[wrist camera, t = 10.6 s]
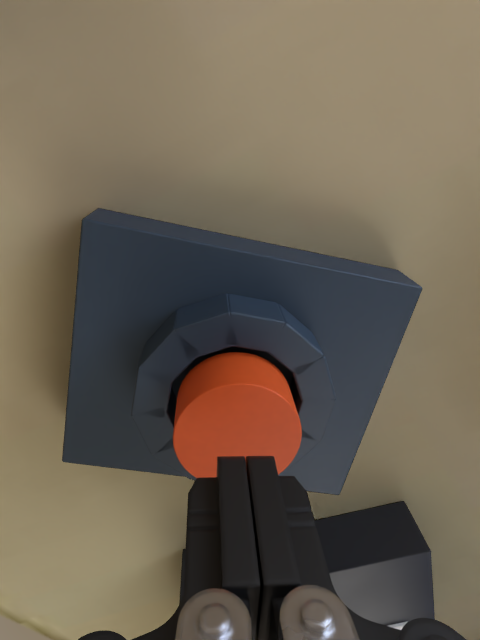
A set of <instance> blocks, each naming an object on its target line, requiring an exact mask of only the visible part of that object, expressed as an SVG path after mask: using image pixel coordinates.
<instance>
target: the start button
mask: <svg viewBox="0 0 480 640" xmlns="http://www.w3.org/2000/svg"><path fill="white" fill-rule="evenodd" d="M301 437H302V427H301V422H300V419H299V415H298V412H297V409H296V406H295V403H294V400H293V397H292V394H291V391H290V388H289V385H288V382H287V380H286V378H285V377H284V375H283V374H282V372H281V371H280V370H279V369H278V368H277V367H276V366H275V365H274V364H272V363H271V362H270V361H268V360H266V359H264V358H262V357H260V356H257V355H254V354H250V353H244V352H228V353H222V354H218V355H215V356H212V357H209V358H207V359H205V360H204V361H202V362H200V363H199V364H197V365H196V366H195V367H194V368H193V369H192V370H190V372H189V373H188V374H187V375H186V376H185V378H184V380H183V381H182V383H181V385H180V388H179V391H178V395H177V404H176V413H175V422H174V430H173V446H174V450H175V453H176V455H177V458H178V459H179V461H180V463H181V464H182V466H183V467H184V468H185V469H186V470H187V471H188V472H189V473H190V474H191V475H193V476H194V477H195V478H202V477H216V476H217V457H218V456H244V457H245V460H246V456H274V458H275V462H276V467H277V472H278V474H280V473H281V472H282V471H284V470H285V469H286V468H287V467H288V466H289V464H290V463H291V462H292V461H293V459H294V457H295V456H296V454H297V452H298V449H299V447H300V443H301Z"/></svg>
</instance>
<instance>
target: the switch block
mask: <svg viewBox="0 0 480 640" xmlns="http://www.w3.org/2000/svg"><path fill="white" fill-rule="evenodd" d="M421 291H422V287H421V286H420V285H418V284H417V283H415V282H414V281H413V280H411V279H410V278H408V277H407V276H406V275H404V274H403V273H401V272H400V271H399V270H395V269H390V268H386V267H381V266H376V265H371V264H366V263H361V262H357V261H352V260H347V259H342V258H337V257H332V256H328V255H323V254H318V253H313V252H308V251H303V250H298V249H294V248H289V247H284V246H279V245H274V244H269V243H265V242H260V241H255V240H250V239H245V238H240V237H236V236H231V235H226V234H221V233H216V232H211V231H207V230H202V229H197V228H192V227H187V226H182V225H177V224H173V223H168V222H163V221H158V220H153V219H148V218H144V217H139V216H134V215H129V214H124V213H119V212H115V211H110V210H105V209H100V208H98V209H96V210H95V211H93V212H92V213H90V214H89V215H88V216H86V217H85V218H83V219H82V225H81V237H80V249H79V262H78V274H77V286H76V298H75V310H74V322H73V335H72V347H71V359H70V371H69V383H68V396H67V408H66V420H65V432H64V444H63V456H62V461H63V462H68V463H76V464H85V465H93V466H101V467H110V468H118V469H126V470H135V471H143V472H151V473H160V474H168V475H176V476H185V477H187V478H189V479H192V480H196V479H197V478H195V477H194V476H193V475H191V474H190V473H189V472H188V471H187V470H186V469H185V468H184V467H183V466H182V464H181V463H180V461H179V459H178V458H177V455H176V453H175V450H174V446H173V430H174V422H175V413H176V404H177V395H178V391H179V388H180V385H181V383H182V381H183V380H184V378H185V376H186V375H187V374H188V373H189V372H190V370H192V369H193V368H194V367H195V366H196V365H197V364H199V363H200V362H202V361H204V360H205V359H207V358H209V357H212V356H215V355H218V354H222V353H228V352H244V353H250V354H254V355H257V356H260V357H262V358H264V359H266V360H268V361H270V362H271V363H272V364H274V365H275V366H276V367H277V368H278V369H279V370H280V371H281V372H282V374H283V375H284V377H285V378H286V380H287V382H288V385H289V388H290V391H291V394H292V397H293V400H294V403H295V406H296V409H297V412H298V415H299V419H300V422H301V427H302V437H301V443H300V447H299V449H298V452H297V454H296V456H295V457H294V459H293V461H292V462H291V463H290V464H289V466H288V467H287V468H286V469H285V470H284V471H282V472H281V473H280V474H278V476H295V478H296V479H297V480H298V481H299V482H300V484H301V485H302V486H303V487H304V489H305V490H306V491H310V492H318V493H326V494H335V495H339V494H340V492H341V490H342V487H343V485H344V482H345V480H346V477H347V475H348V472H349V470H350V467H351V465H352V462H353V460H354V457H355V455H356V452H357V450H358V447H359V445H360V442H361V440H362V437H363V435H364V432H365V430H366V427H367V425H368V422H369V420H370V417H371V415H372V412H373V410H374V408H375V405H376V403H377V400H378V398H379V395H380V393H381V390H382V388H383V385H384V383H385V380H386V378H387V375H388V373H389V370H390V368H391V365H392V363H393V360H394V358H395V355H396V353H397V350H398V348H399V345H400V343H401V340H402V338H403V335H404V333H405V330H406V328H407V326H408V323H409V321H410V318H411V316H412V313H413V311H414V308H415V306H416V303H417V301H418V298H419V296H420V293H421Z"/></svg>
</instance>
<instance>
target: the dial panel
mask: <svg viewBox="0 0 480 640" xmlns="http://www.w3.org/2000/svg"><path fill="white" fill-rule="evenodd" d="M315 527H316V528H317V531H318V535H319V538H320V542H321V545H322V549H323V553H324V556H325V560H326V563H327V567H328V570H329V574H330V578H331V581H332V584H333V587H334V589H335V591H336V593H337V595H338V596H339V598H340V599H341V600H342V602H343V603H344V604H345V605H346V606H347V607H348V608H349V609H350V610H352V611H353V612H354V613H356V614H357V615H359V616H361V617H363V618H364V619H367V620H370V621H372V622H376V623H379V624H382V625H386V626H389V627H392V628H395V629H399V630H402V628H403V626H404V625H405V624H406V623H407V622H409V621H411V620H413V619H416V618H430V619H434V620H435V618H434V600H433V582H432V565H431V550H430V548H429V547H428V545H427V543H426V541H425V539H424V537H423V535H422V533H421V532H420V530H419V528H418V526H417V524H416V522H415V520H414V519H413V517H412V515H411V513H410V511H409V509H408V507H407V505H406V504H405V502H404V501H402V502H397V503H393V504H388V505H384V506H379V507H374V508H370V509H365V510H361V511H356V512H352V513H347V514H342V515H338V516H333V517H329V518H324V519H320V520H315ZM185 554H186V549H183V553H182V570H181V587H180V602H181V600H182V596H183V591H184V574H185ZM179 605H180V604H179Z"/></svg>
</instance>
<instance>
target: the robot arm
mask: <svg viewBox="0 0 480 640" xmlns="http://www.w3.org/2000/svg"><path fill="white" fill-rule="evenodd" d="M78 640H126V639H125V638H124V637H123V636H121V635H120V634H118V633H115V632H112V631H96V632H92V633H89V634H87V635H85V636H83V637H81V638H79V639H78ZM132 640H466V639H465V638H463V637H462V636H461V635H460V634H458V633H457V632H456V631H455V630H453V629H452V628H450V627H449V626H447V625H446V624H444V623H442V622H439V621H437V620H434V619H430V618H416V619H413V620H411V621H409V622H407V623H406V624H405V625H404V626H403V628H402V630H399V629H395V628H392V627H389V626H386V625H382V624H379V623H376V622H372V621H370V620H367V619H364V618H363V617H361V616H359V615H357V614H356V613H354V612H353V611H352V610H350V609H349V608H348V607H347V606H346V605H345V604H344V603H343V602H342V600H341V599H340V598H339V596H338V595H337V593H336V591H335V589H334V587H333V584H332V581H331V578H330V574H329V570H328V567H327V563H326V560H325V556H324V553H323V549H322V545H321V542H320V538H319V535H318V531H317V528H316V527H315V520H314V517H313V513H312V512H311V506H310V503H309V499H308V495H307V492H306V490H305V489H304V487H303V486H302V485H301V484H300V482H299V481H298V480H297V479H296V478H295V476H278V472H277V467H276V462H275V458H274V456H246V460H245V457H244V456H218V457H217V476H216V477H202V478H197V479H196V481H195V483H194V484H193V486H192V488H191V490H190V491H189V493H188V513H187V533H186V554H185V574H184V591H183V596H182V600H181V602H180V605H179V607H178V609H177V610H176V612H175V613H174V614H173V616H172V617H171V618H170V619H169V620H168V621H167V622H166V623H165V624H163V625H162V626H160V627H159V628H157V629H155V630H153V631H151V632H149V633H147V634H144V635H142V636H139V637H137V638H134V639H132Z"/></svg>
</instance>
